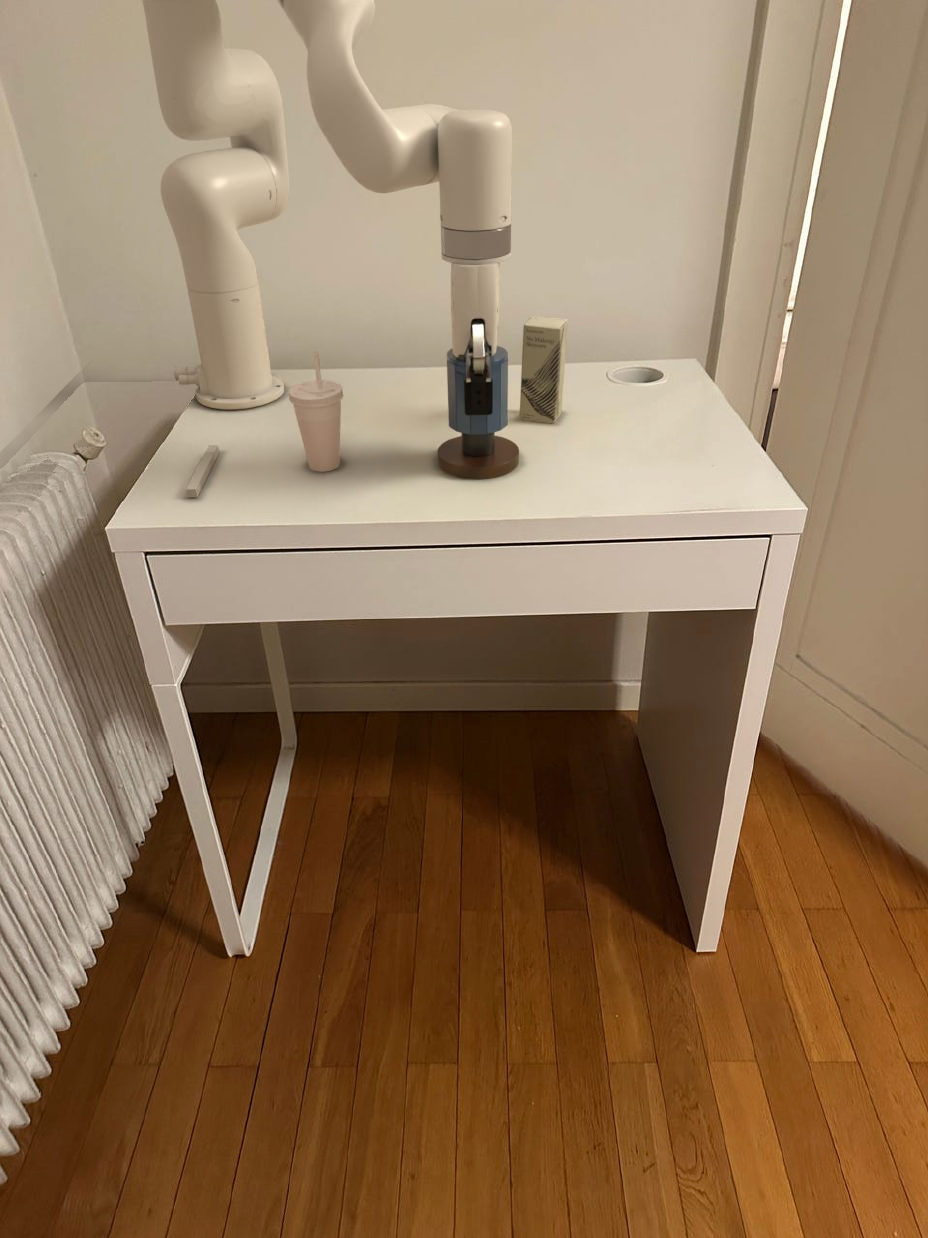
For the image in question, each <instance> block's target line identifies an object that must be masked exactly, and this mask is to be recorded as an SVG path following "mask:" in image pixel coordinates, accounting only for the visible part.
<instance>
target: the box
mask: <svg viewBox="0 0 928 1238" xmlns="http://www.w3.org/2000/svg"><path fill="white" fill-rule="evenodd" d="M568 326H569V320H568V319H566V318H558V317H549V316H537V315H536V316H535V315H531V316H530V317H529V318H528V319H527V320H526V321H525V322H524V324H523V328H522V329H523V330H522V349H521V350H522V351H521V353H522V354H521V376H520V400H519V419H520V420H522V421H523V420H524V421H532V422H537V423H539V422H540V423H544V424H545V423H547V424H555V422H557V420H558V419H559V418H560V416H561V414H562V409H563V395H564V394H563V393H564V382H565V381H564V380H565V366H566V354H567V353H566V352H567V340H568V338H567V337H568V328H569V327H568Z"/></svg>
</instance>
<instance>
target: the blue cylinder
mask: <svg viewBox="0 0 928 1238" xmlns="http://www.w3.org/2000/svg"><path fill="white" fill-rule="evenodd" d="M484 352H487V344H486V348H484ZM469 353H473V348H470V349H469ZM490 354H491V353H490ZM508 354H509V352H508V350H506V349H505V348H504V347H502V346H499V345H497V348H496V353H495V354H494V355H493V356H491V357H490V364H491V379H492V380H493V413H492V414H491V415H466V414H465V402H464V380H466V358H465V355H466V351H465V353H464V355H459V357H456V356H455V355H454V354H453V347H451V348H450V349H448V350H447V352H446V376H447V377H446V378H447V409H448V411H447V413H448V427H449V428H450V429H452V430H453V431H455V432H456V433H460V434H462V433H465V434H471V435H478V434H490V433H494V432H495V433H498V432H500V431H502V430H503V429H505V428H506V427H507V426H508V424H509V423H508V421H509V419H508V417H509V415H508V411H509V410H508V409H509V407H508V406H509V401H508V400H509V397H508V396H509V358H508V357H509V356H508ZM471 363H473V360H471ZM485 363H486V359H485Z"/></svg>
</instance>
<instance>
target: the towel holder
mask: <svg viewBox="0 0 928 1238" xmlns="http://www.w3.org/2000/svg"><path fill="white" fill-rule="evenodd" d="M495 434H496V432H494V433H490V434H478V435H471V434H465V433H461V435H460V436H456V437H452V438H450V439H447V440H445V441H444V442H443V443H441V444H440V445H439V446H438V448H437V465H438V468H440V469H441V471H443V472H444V473H445V474H448V475H450V476H453V477H456V478H461V479H466V480H467V479H468V480H488V479H494V478H498V477H503V476H505V475H508V474H510V473H512V472H513V471H515V469H517V468H518V466H519V464H520V449H519V446H518V445H517V443H516V442H514V441H513V440H510V439H508V438H506V437H503V436H499V435H495Z"/></svg>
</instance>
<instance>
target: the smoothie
mask: <svg viewBox="0 0 928 1238" xmlns="http://www.w3.org/2000/svg"><path fill="white" fill-rule="evenodd" d="M312 354H313V360H314V361H313V362H314V371H315V379H316V380H307V381H302V382H299V383H297V384H295V385H292V386H291V387H290V388H289V389H288V401H289V402H290V403H291V404H292V406H293V409H294V410H293V411H294V413H295V418H296V421H297V425H298V430H299V433H300V437H301V441H302V444H303V449H304V452H305V455H306V460H307V463H308V467H309V469H310V470H312V471H314V472H323V473H324V472H330V471H333V470H336V469H337V468H339V467H340V458H341V457H340V452H341V419H342V418H341V415H342V400H343V398H344V396H345V395H344V391H343V386H342V385H341V384H340V383H338V382H336V381H332V380H326V379H325V380H324V379H322V373H321V363H320V357H319V352H318V351H314V352H313V353H312Z"/></svg>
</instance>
